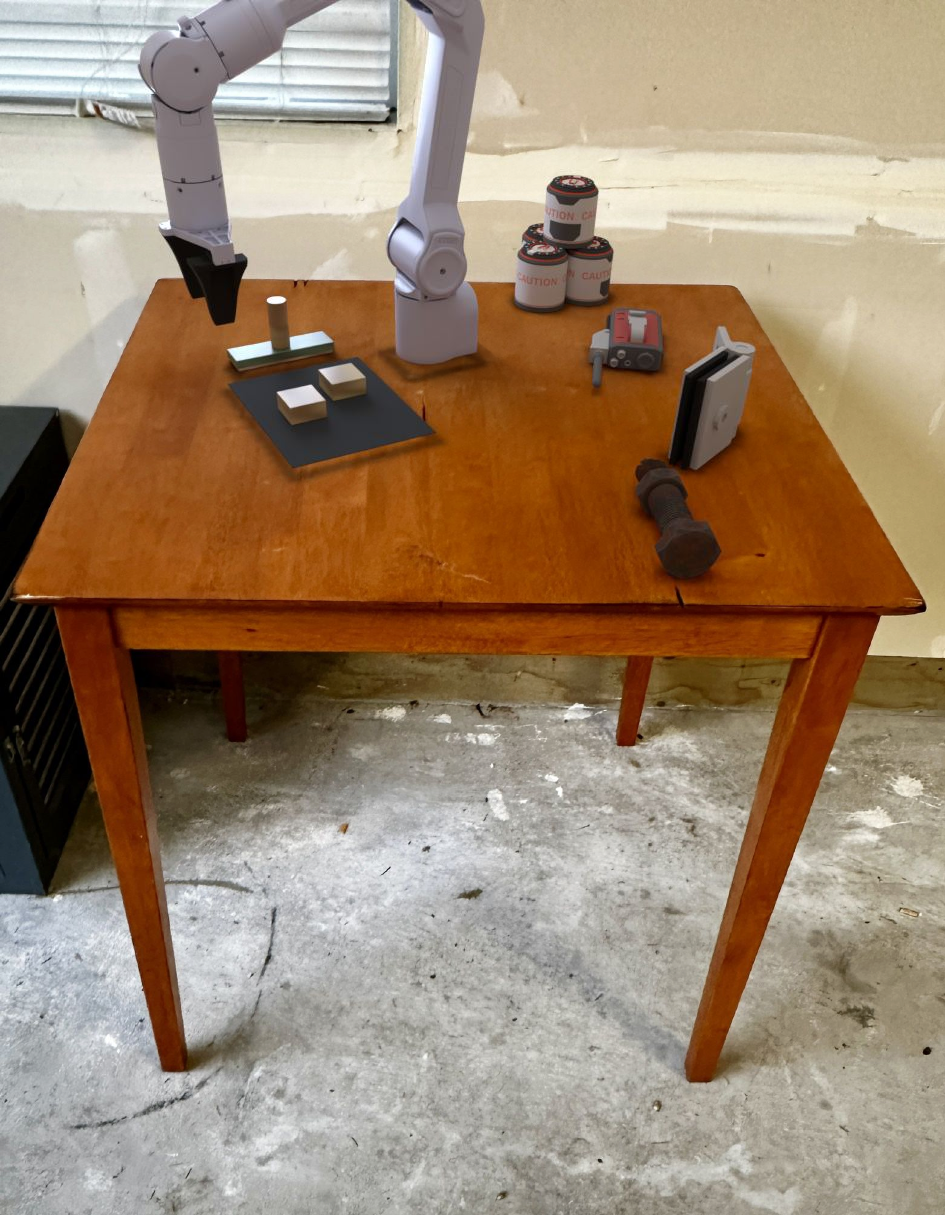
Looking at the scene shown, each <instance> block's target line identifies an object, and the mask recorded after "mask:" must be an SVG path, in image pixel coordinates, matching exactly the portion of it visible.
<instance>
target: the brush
mask: <svg viewBox="0 0 945 1215" xmlns="http://www.w3.org/2000/svg"><path fill="white" fill-rule="evenodd" d="M266 307H267V308H266V309H267V318H268V326H269V334H270V335H269V336H270V340H268V341H263V342H258V343H254V344H248V345H243V346H238V347H231V348H227V349H226V355H227V356H226V357H227V358H228V359H229V360H230V363H232V365H233V366H234V367H235V368H236V370H237V371H238V372H243V371H247V370H253V369H258V368H262V367H267V366H271V365H272V366H273V365H278V364H282V363H287V362H293V361H297V360H302V359H307V358H311V357H317V356H322V355H326V354H332V353H333V351H334V350H335V342H334V341H333V339H332V338H330V337H329V336H328V334H326V333H325V332H324V330H321V331H315V332H310V333H305V334H304V333H303V334H300V335H294V336H291V335H290V326H289V315H288V302H287V299H286V298H285V297H283V296H279V295H278V296H270V297H268V298H267V299H266Z"/></svg>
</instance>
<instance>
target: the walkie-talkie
mask: <svg viewBox="0 0 945 1215" xmlns="http://www.w3.org/2000/svg"><path fill="white" fill-rule="evenodd" d="M605 323H606V324H605V328H604V329H602V330H599V331H597V332H595V333H593V334H592V338H591V345H590V346H589V355H588V362H589V363H592V364H593V368H592V380H591V385H592V386H593V387H594V388H596V389H599V388H600V387H601V386H602V373H603V372H602V371H603V365H604V364H605V365H606V366H608V367H609V368H612V369H624V370H635V371H648V372H649V371H650V372H656V371H659V370H661V364H662V362H663V360H664V355H665V354H664V343H663V328H662V315H660V314H659V313H658V312H656V310H653V309H643V308H641V309H640V308H629V307H618V308H616V309H613V310H612V311H610V314H608V315H607V316H606V321H605Z"/></svg>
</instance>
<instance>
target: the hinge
mask: <svg viewBox="0 0 945 1215" xmlns="http://www.w3.org/2000/svg"><path fill="white" fill-rule="evenodd" d="M755 352H756V346H754V345H752V344H750V342H749V343H748V342H743V341H732V340H731V338H730V336H729V332H728V330H727V328H726V326H721V325H720V326H717V328H716V334H715V338H714V343H713V349H712V352H710V353H709V354H707V355H706V356H704V357H702V358H701V359H700V360H698V361H696V362H695V363H693V364H692V365H690V366H689V367H687V368H686V369H684V370H683V373H682V380H681V384H680V385H681V386H680V390H679V396H678V401H677V407H676V413H675V417H674V423H673V428H672V434H671V440H670V445H669V450H668V456H667V459H669V460H668V464H669V465H672V466H675V465H677V464H678V463H679V462H680V461H681V462H680V469H681V470H683V471H687V470H688V469H689V468H690V469H692V470H695V471H697V470H699V469H700V468H701V467H702V466H703V465H705V464H706V463H708V462H709V461H710V460H711V459H712V458H714V457H715V456H717V455H718V454H719V453H720V452H721V451H723V450H724V449H726V447H728V446H729V445H731V443H732V439H734V438H735V437H736V435H737V430H738V425H739V424H741V421H742V416H743V412H744V409H745V404H746V400H747V395H748V391H749V387H750V382H751V379H752V374H753V360H754V356H755Z"/></svg>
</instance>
